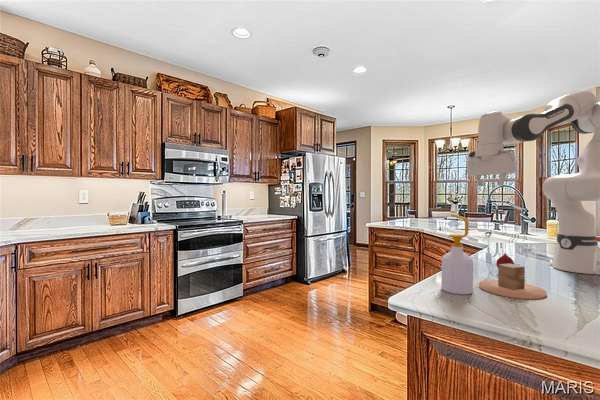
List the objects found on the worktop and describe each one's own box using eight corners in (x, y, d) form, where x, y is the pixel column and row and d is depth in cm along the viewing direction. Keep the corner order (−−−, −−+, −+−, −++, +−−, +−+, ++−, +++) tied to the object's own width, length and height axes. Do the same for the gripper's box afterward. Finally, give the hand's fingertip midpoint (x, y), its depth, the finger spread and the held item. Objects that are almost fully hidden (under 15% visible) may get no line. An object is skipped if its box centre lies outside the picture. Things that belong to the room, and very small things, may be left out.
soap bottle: (444, 284, 108) (444, 212, 108) (474, 289, 103) (475, 213, 102) (438, 291, 101) (439, 214, 100) (470, 297, 95) (471, 215, 95)
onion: (517, 275, 120) (518, 254, 119) (502, 275, 120) (502, 254, 120) (507, 272, 125) (508, 251, 125) (493, 272, 126) (493, 251, 125)
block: (509, 284, 105) (509, 263, 105) (524, 288, 101) (524, 266, 100) (498, 285, 104) (498, 264, 104) (512, 290, 99) (512, 267, 99)
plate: (506, 280, 113) (506, 277, 113) (561, 295, 96) (561, 292, 96) (466, 284, 108) (466, 282, 108) (517, 302, 91) (517, 298, 91)
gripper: (520, 149, 121) (520, 185, 121) (475, 155, 140) (475, 186, 140) (508, 148, 119) (507, 185, 119) (464, 154, 138) (464, 186, 138)
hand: (489, 186), depth 130 cm, fingers open, 8 cm apart
